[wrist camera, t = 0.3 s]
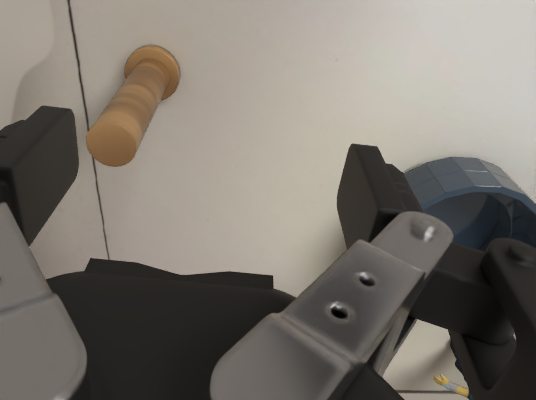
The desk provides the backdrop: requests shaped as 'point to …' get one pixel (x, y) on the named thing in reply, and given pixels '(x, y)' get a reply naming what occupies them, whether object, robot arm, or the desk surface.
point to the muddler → (133, 105)
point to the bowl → (474, 201)
